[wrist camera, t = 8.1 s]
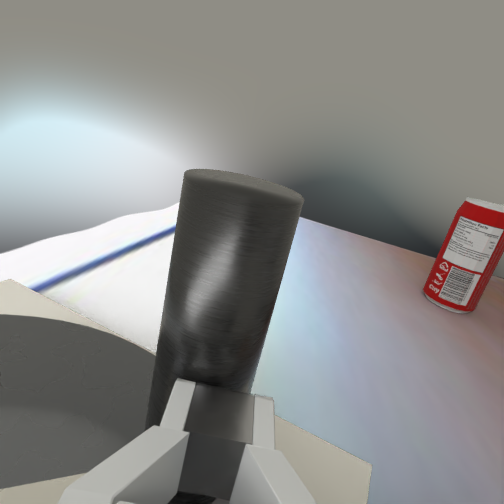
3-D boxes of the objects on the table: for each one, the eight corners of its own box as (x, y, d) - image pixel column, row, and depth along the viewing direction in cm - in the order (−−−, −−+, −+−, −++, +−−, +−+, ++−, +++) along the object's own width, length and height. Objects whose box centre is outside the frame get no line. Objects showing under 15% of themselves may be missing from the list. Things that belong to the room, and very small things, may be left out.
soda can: (459, 297, 44) (504, 202, 40) (482, 320, 39) (536, 214, 35) (415, 286, 44) (455, 191, 40) (432, 308, 39) (481, 201, 35)
